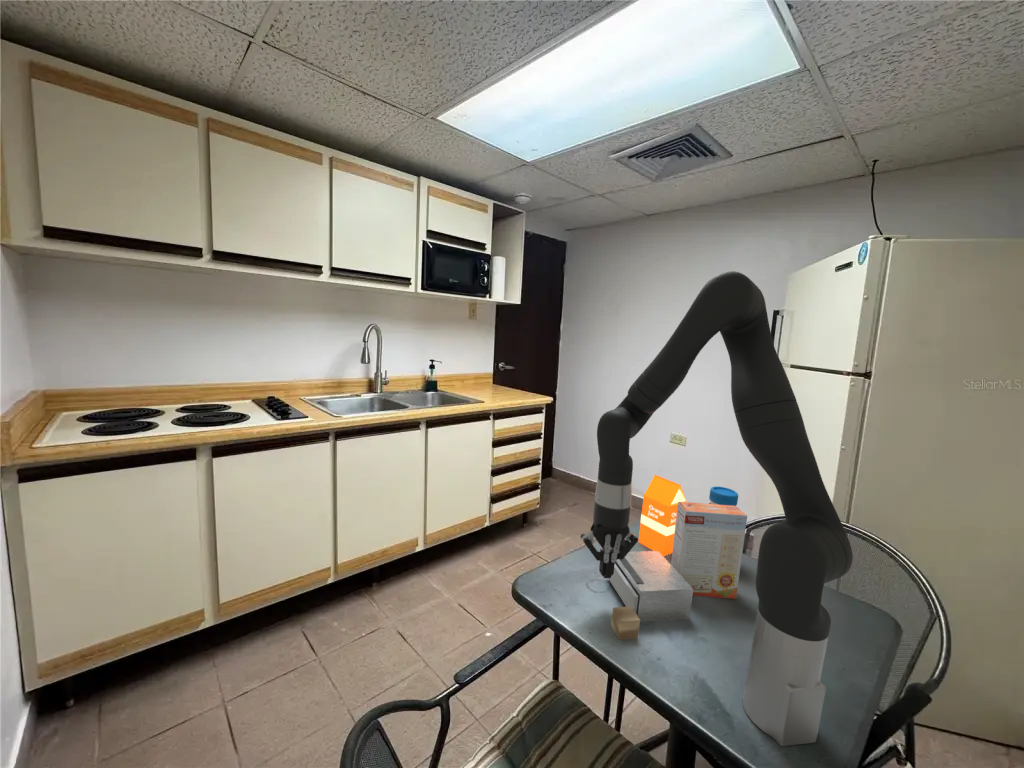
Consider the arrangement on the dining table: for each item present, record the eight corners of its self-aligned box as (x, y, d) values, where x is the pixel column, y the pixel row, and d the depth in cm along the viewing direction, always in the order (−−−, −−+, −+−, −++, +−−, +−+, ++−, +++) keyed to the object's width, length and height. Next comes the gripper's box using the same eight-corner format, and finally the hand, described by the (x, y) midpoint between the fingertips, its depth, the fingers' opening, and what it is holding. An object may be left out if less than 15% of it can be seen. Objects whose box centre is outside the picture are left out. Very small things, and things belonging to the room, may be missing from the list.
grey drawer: (683, 613, 88) (685, 594, 88) (632, 616, 86) (634, 596, 86) (650, 573, 102) (652, 556, 102) (606, 574, 101) (607, 557, 100)
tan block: (637, 638, 82) (639, 620, 81) (618, 639, 81) (620, 621, 80) (629, 624, 86) (631, 606, 85) (610, 625, 85) (612, 607, 84)
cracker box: (724, 584, 102) (736, 504, 99) (736, 600, 96) (749, 515, 93) (667, 579, 102) (677, 499, 100) (675, 595, 96) (686, 510, 94)
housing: (689, 619, 88) (693, 588, 87) (637, 621, 86) (640, 590, 85) (654, 577, 103) (658, 550, 102) (609, 578, 101) (612, 551, 100)
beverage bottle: (729, 556, 115) (739, 488, 113) (734, 572, 107) (745, 499, 105) (696, 549, 118) (705, 482, 115) (698, 564, 110) (708, 493, 107)
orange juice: (663, 556, 113) (672, 487, 110) (637, 541, 120) (645, 476, 117) (680, 549, 117) (689, 482, 114) (655, 535, 124) (662, 472, 122)
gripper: (589, 508, 83) (583, 588, 85) (649, 506, 86) (642, 584, 88) (577, 494, 91) (571, 568, 93) (632, 493, 93) (626, 565, 95)
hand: (606, 576), depth 90 cm, fingers closed
